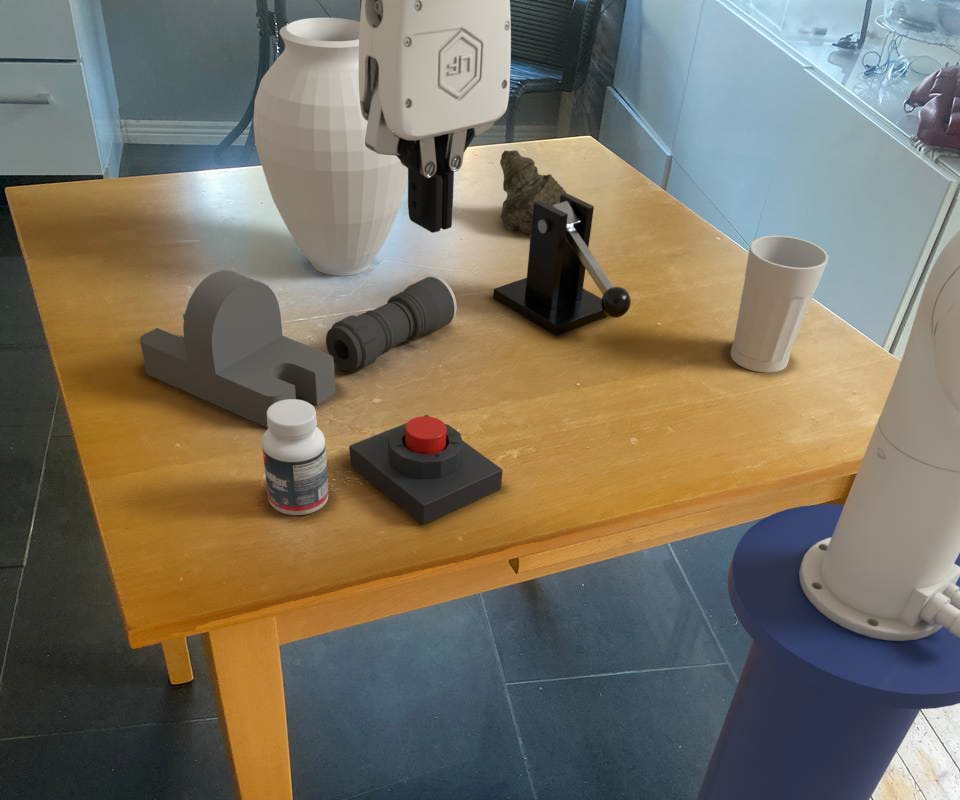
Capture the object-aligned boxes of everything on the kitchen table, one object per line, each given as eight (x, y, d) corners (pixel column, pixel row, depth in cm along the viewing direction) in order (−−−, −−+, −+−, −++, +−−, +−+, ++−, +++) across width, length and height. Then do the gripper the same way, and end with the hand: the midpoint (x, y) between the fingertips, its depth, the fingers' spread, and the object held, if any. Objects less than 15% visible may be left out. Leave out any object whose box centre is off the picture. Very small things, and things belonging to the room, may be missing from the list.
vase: (442, 274, 119) (448, 41, 102) (314, 309, 111) (298, 62, 94) (363, 222, 129) (357, 1, 111) (241, 251, 121) (213, 17, 103)
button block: (501, 489, 89) (504, 452, 86) (423, 525, 85) (423, 488, 82) (426, 434, 95) (427, 397, 92) (349, 465, 90) (348, 428, 88)
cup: (741, 378, 106) (770, 270, 97) (711, 342, 111) (737, 237, 103) (807, 373, 107) (842, 266, 99) (775, 337, 113) (806, 233, 104)
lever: (626, 319, 109) (641, 301, 106) (606, 326, 108) (621, 308, 105) (559, 217, 110) (572, 197, 108) (538, 223, 109) (551, 203, 106)
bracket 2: (612, 314, 114) (628, 212, 106) (556, 336, 110) (569, 231, 102) (548, 279, 120) (559, 179, 112) (492, 298, 116) (499, 195, 107)
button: (454, 446, 87) (454, 429, 86) (422, 460, 85) (422, 443, 84) (429, 428, 89) (429, 411, 88) (397, 441, 87) (397, 424, 86)
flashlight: (359, 383, 101) (357, 334, 97) (322, 364, 103) (318, 316, 99) (456, 331, 109) (457, 284, 106) (419, 315, 112) (420, 268, 108)
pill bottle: (258, 492, 87) (246, 404, 81) (310, 474, 89) (303, 387, 83) (285, 524, 84) (276, 436, 78) (339, 505, 86) (334, 417, 80)
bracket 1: (208, 335, 106) (193, 235, 98) (340, 390, 100) (334, 288, 92) (141, 371, 100) (119, 268, 92) (277, 432, 94) (265, 326, 86)
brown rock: (529, 152, 134) (471, 163, 129) (585, 123, 124) (524, 134, 119) (550, 238, 137) (494, 252, 132) (606, 216, 127) (548, 230, 123)
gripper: (373, -52, 55) (378, 267, 68) (564, -72, 62) (536, 220, 75) (299, -77, 59) (318, 229, 72) (488, -93, 66) (474, 188, 79)
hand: (430, 223), depth 73 cm, fingers closed
